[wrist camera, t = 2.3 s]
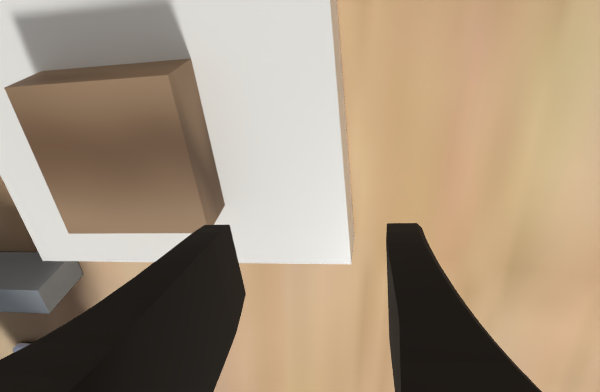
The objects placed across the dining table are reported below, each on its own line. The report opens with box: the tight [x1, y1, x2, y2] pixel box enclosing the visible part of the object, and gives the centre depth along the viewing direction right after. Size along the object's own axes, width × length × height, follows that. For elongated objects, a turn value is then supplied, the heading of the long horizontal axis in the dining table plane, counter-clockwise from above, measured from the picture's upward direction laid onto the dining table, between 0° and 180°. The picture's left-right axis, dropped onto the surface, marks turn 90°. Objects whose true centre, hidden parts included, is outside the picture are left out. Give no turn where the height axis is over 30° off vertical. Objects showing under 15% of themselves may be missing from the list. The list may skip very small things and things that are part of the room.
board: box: [0, 0, 354, 264], centre depth 19 cm, size 12×15×2 cm
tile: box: [4, 59, 225, 234], centre depth 17 cm, size 6×6×2 cm
